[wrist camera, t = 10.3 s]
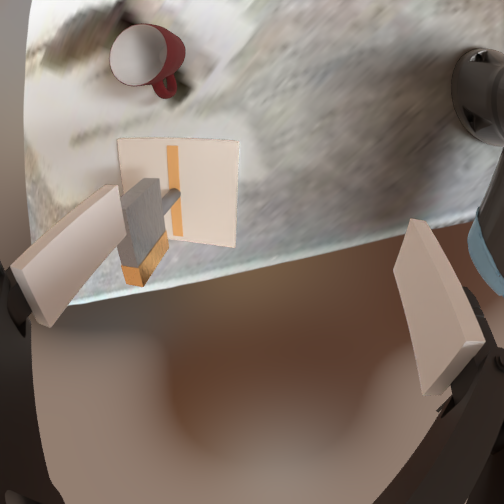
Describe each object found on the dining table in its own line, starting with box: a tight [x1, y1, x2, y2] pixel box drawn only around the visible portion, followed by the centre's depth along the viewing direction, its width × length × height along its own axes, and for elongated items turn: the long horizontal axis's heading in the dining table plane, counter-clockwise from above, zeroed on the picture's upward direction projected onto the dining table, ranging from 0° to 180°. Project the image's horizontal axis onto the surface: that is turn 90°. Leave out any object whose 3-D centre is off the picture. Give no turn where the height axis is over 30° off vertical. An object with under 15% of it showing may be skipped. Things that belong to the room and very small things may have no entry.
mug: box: [109, 24, 185, 99], centre depth 32 cm, size 11×8×10 cm
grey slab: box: [117, 178, 169, 287], centre depth 38 cm, size 11×3×9 cm, turn 179°
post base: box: [117, 137, 239, 248], centre depth 45 cm, size 20×18×8 cm
